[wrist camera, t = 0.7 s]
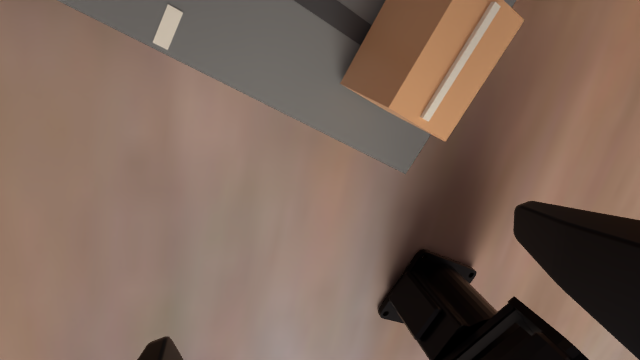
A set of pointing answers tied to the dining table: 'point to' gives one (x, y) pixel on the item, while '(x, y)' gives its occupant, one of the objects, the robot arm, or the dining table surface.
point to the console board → (275, 59)
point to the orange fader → (431, 58)
